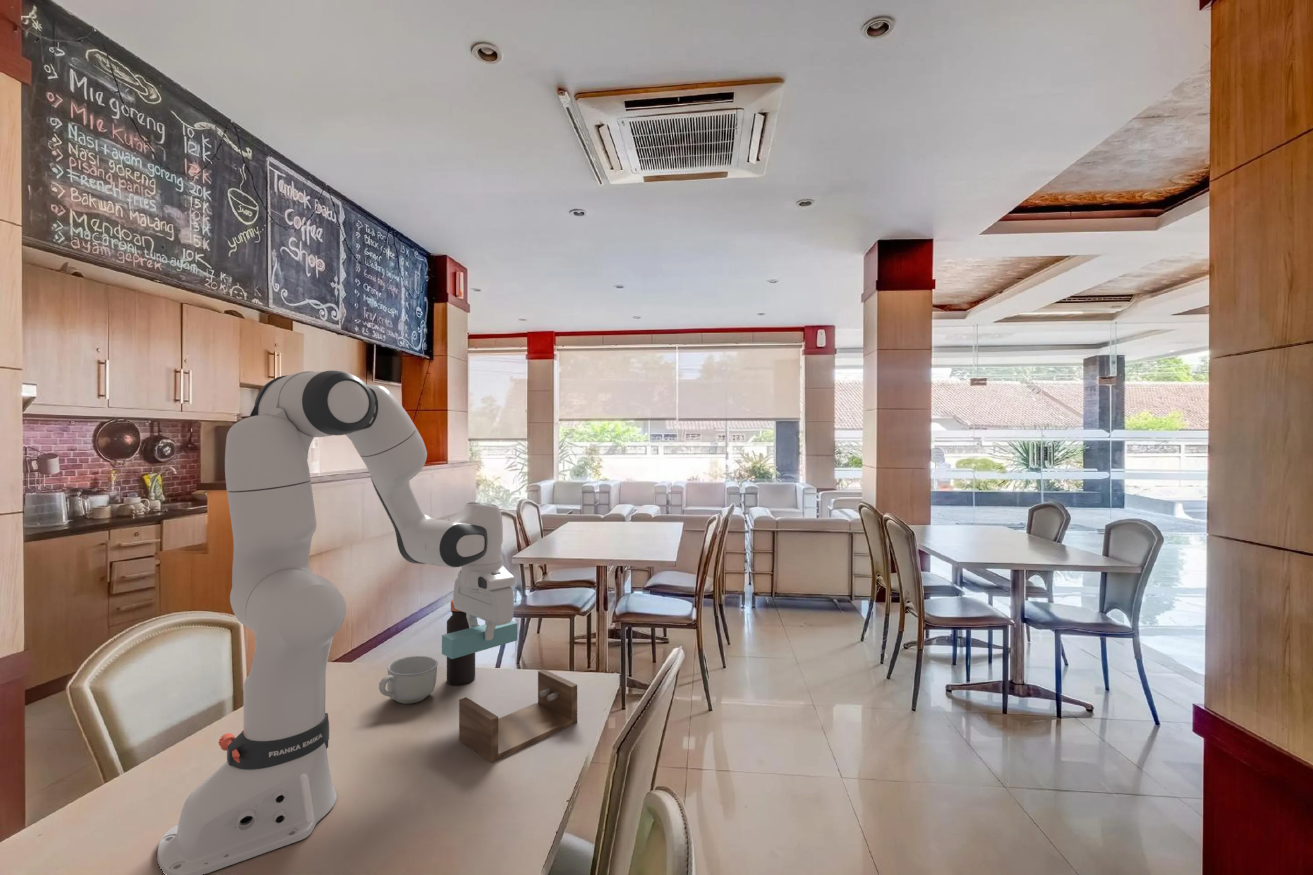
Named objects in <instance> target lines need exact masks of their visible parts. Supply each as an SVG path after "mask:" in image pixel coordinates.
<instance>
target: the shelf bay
mask: <svg viewBox="0 0 1313 875" xmlns="http://www.w3.org/2000/svg"><path fill="white" fill-rule="evenodd" d="M458 709H459V710H458V711H459V712H458V733H459V734H458V740H459V741H460V742H462V743H463V744H464V745H466V746H467V747H469V748H470V749H471V750H473V751H474V752H475V753H477V754H478V755H479V756H480V757H482V758H483V759H485V760H487V761H488V762H489V763H490V764H493V763H494V762H496V761H498V760H501V759H503V758H506V757H507V756H509V755H511V754H514V753H516V752H518V751H520V750H523V749H524V748H526V747H528V746H531V745H533V744H534V743H536V742H539V741H541V740H543V739H545V738H547V737H550V736H552V735H554V734H556V733H558V732H560V731H562V730H564V729H567V728H568V727H571V726H573V725H575V724H578V684H576V683H575V682H572V681H570V680H568V679H566V678H563V677H561V676H559V675H557V674H555V673H553V672H551V671H549V670H546V669H544V668H543V669H541V670H538V671H537V702H536V703H532V704H530V705H528V706H526V707H523V708H520V709H518V710H516V711H513V712H511V713H508V714H506V715H504V716H501V717H499V716H497V715H496V714H494V713H493V712H491V711H490V710H488V709H486V708H485V707H483V706H481V705H480V704H478V703H476V702H475V701H473V700H471V699H470V698H468V697H467V696H465V697H463V698H460V699H459V700H458Z"/></svg>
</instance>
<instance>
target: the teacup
mask: <svg viewBox="0 0 1313 875" xmlns="http://www.w3.org/2000/svg"><path fill="white" fill-rule="evenodd" d="M438 665H439V662H438V660H436V658H434V657H432V656H426V655H414V656H413V655H410V656H406V657H402V658H397V659H396V660H394V661H392V662H390V663H389V664H388V665H387V668H386V669H387V675H385V676H384V677H382V678H381V680H380V682H379V684H378V690H379V692H380V694H382V695H383V696H386V697H389V698H390V699H391V700H395V701H396V702H398V703H400V704H404V705H405V704H408V705H409V704H415V703H418V702H422V701H423V700H424V699H426V698H427V697H428V696H429V695H431V694H432V692H433V691H434V689H435V687H436V684H437V683H436V682H437V673H438V670H437V669H438ZM386 685H387V689H386Z"/></svg>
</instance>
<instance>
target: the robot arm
mask: <svg viewBox="0 0 1313 875" xmlns="http://www.w3.org/2000/svg"><path fill="white" fill-rule="evenodd" d="M331 436H345V437H347V438H348V439H349V440H350V441H351V443H352V445H353V446H354V448H355V450H356V452H357V453H358V455H359V456H360V458H361V460H362V461H363V463H364V464H365V466H366V469H367V470H368V472H369V474H370V480H371V482H372V485H373V489H374V490H375V493H376V495H377V496H378V498H379V500H380V502H381V504H382V506H383V509H384V510H385V512H386V514H387V517H388V518H389V520H390V522H391V524H392V527H393V529H394V532H395V537H396V542H397V548H398V551H399V554H400V555H401V556H402V558H403V559H405V561H407V562H408V563H412V564H418V565H419V564H420V565H421V564H422V565H431V566H438V567H445V568H452V569H453V568H460V567H461V569H460V570H459V572H458V573H457V578H456V579H455V580H454V586H453V594H452V595H453V596H452V597H453V598H452V600H453V605H454V608H455V609H458V610H460V611H463V612H465V613H466V617H467V621H468V624H469V628H472V627H476V626H480V624H479V623H478V619H480V620H483V621H484V624H485V625H487V626H486V629H485V631H483V639H485V640H487V641H488V640H492V639H493V637H494V630H495V627H496V625H497V626H499V625H504V624H508V623H510V622H511V621H513V619H514V611H515V610H514V609H515V608H514V607H515V594H514V591H513V588H512V587H514V586H515V585H516V584H515V582H516V580H515V576H514V575H513V574H512V573H511V572H510V571H509V570H508V569H507V568H506V567H505V566H504V565H503V555H502V551H501V550H502V544H503V542H504V541H503V540H504V529H503V527H504V526H503V515H502V512H501V509H500V507H498V505H496V504H493V503H488V502H487V503H486V502H485V503H484V502H476V501H473V502H472V501H471V502H467V503H465V505H464V508H463V509H462V510H461V511H460V512H458V513H457V514H455V515H454V516H452V517H450V518H448V519H437V518H434V517H432V516H431V517H430V516H429V515H427V514H426V513H424V512H423V510H422V509H421V507H420V504H419V503H418V500H417V498H416V496H415V494H414V491H413V489H412V487H411V485H410V481H411V480H412V479H413V478H415V477H416V476H417V475H418V474H420V472H421V471H422V470H423V468H424V466H425V464H426V461H427V458H428V451H427V447H426V444H425V442H424V440H423V436H421V434H420V432H419V430H418V429H417V427H416V425H415V424H414V421H413V420H412V419H411V416H410V415H409V414H408V412H407V411H406V410H405V408H404V407H403V405H402V404H401V403H400V401H398V399H397V398H396V397H395V395H394V394H393V393H392V392H391V391H390V390H389V389H388V388H386V387H385V386H383V385H379V384H366V383H365V381H363V380H362V379H360V377H357V376H355V375H354V374H352V373H348V372H346V371H341V370H331V369H330V370H324V371H312V370H311V371H301V372H296V373H292V374H289V375H288V374H287V375H281V376H278V377H276V378H274V379H271V380H270V381H268V382H267V383H265V384H264V385H263V387H261V388H260V389H259V391H258V393H257V395H256V398H255V400H254V406H253V408H252V410H251V412H250V415H249V417H246V418H243V419H241V420H238V421H237V422H235V423H234V424H233V425H232V426H231V427H230V428H229V430H228V432H227V434H226V441H225V448H224V449H225V451H224V452H225V453H224V473H225V475H224V478H225V484H226V485H225V486H226V493H227V494H226V495H227V501H228V508H229V517H230V523H231V524H230V525H231V531H232V537H233V538H232V539H233V552H232V554H233V555H232V556H233V557H232V568H231V569H232V571H231V572H232V573H231V574H232V575H231V576H232V578H231V584H232V586H231V590H230V594H229V602H230V607H231V610H232V612H233V614H234V616H235V617H236V619H237V621H239V623H240V624H241V625H243V626H245V627H246V628H248V629H249V630H251V631H252V632H253V635H254V638H255V646H254V647H255V649H254V652H253V657H252V662H251V666H250V671H249V674H248V676H247V677H246V678H245V680H244V682H243V723H242V724H243V728H242V731H241V732H240V733H239V734H238V735H237V736H236V737H235V735H234V734H233V733H231V732H227V733H225V734H222V735H221V736H220V737H221V738H219V740H218V742H217V743H218V745H219V747H220V749H221V750H222V751H226V760H227V761H226V762H224V763H223V764H222V765H220V767H219V768H218V769H217V770H216V771H214V773H212V774H211V775H210V776H208V778H207V779H205V780H204V781H203V782H202V783H201V784H200V785H199V786H197V787H196V788H195V789H194V790H193V791H192V792H191V793H190V794H189V795H188V796H187V797H186V799H185V801H184V804H183V806H182V809H181V812H180V815H179V819H178V824H175V825H173V826H172V827H171V828H169V829H168V830H167V831H165V833H164V834H163V836H162V837H161V839H160V841H159V843H158V847H157V855H156V856H157V857H156V860H157V864H159V865H158V867H159V866H160V868H159V870H160V869H162V871H163V872H164V873H165V874H167V875H203V874H204V875H206V874H209V873H212V872H215V871H218V870H221V869H223V868H226V867H228V866H231V865H235V864H237V863H240V862H243V861H246V860H248V859H251V858H254V857H257V856H261V855H263V854H266V853H269V852H271V851H274V850H277V849H279V848H283V847H284V846H285V847H286V846H288V845H290V844H294V843H297V842H299V841H303V840H304V839H306V838H308V837H309V836H310V835H311V834H312V833H313V831H314V829H315V827H316V825H317V824H318V823H319V821H321V820H322V819H323V818H324V817H325V816H326V815H327V814H328V813H329V812H330V811H331V810H332V808H333V807H334V806H335V804H336V802H337V797H338V796H337V795H338V794H337V792H336V789H335V786H334V783H333V780H332V775H331V770H330V765H329V759H328V757H329V756H328V748H329V740H330V720H329V713H327V712H326V696H327V695H326V694H327V693H326V692H327V690H326V689H327V688H326V686H327V685H326V684H327V666H328V661H329V657H330V652H331V647H332V644H333V641H334V637H335V635H336V634H337V633H338V632H339V630H340V628H341V627H342V625H343V624H344V621H345V618H346V614H347V604H346V601H345V597H344V595H343V594H342V592H340V590H339V589H338V588H337V586H335V585H334V584H333V583H332V582H331V580H329V579H327V578H326V577H324V576H321V575H318V574H315V573H313V572H312V569H311V565H310V554H311V546H312V545H311V544H312V539H313V536H314V534H315V532H316V530H317V529H316V528H317V518H316V517H317V516H316V509H315V502H314V501H315V500H314V493H313V486H312V479H311V472H310V471H311V470H310V467H309V462H308V458H309V450H310V447H311V443H312V442H313V440H314V439H315V438H325V437H331ZM162 871H161V872H162Z"/></svg>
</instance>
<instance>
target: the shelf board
mask: <svg viewBox="0 0 1313 875" xmlns="http://www.w3.org/2000/svg"><path fill="white" fill-rule="evenodd" d="M479 625H480V624H479ZM486 626H487V625H485V623H484V624H481V625H480V626H476V627H472V628H468V629H464V630H460V631H456V632H452V633H448V634H447V633H445V634H442V635H441V655H443V656H445V657H446V658H447V657H449V658H451V659H454V658H458V657H461V656H465V655H468V654H472V653H475V654H476V653H478V652H481V651H485V650H489V649H492V648H496V647H499V646H502V645H506V644H509V643H513V642H517V641H518V626H519V625H518V622H516V621H513V620H511V622H510V623H508V624H504V625H499V626H497V625H496V627H495V630H494V637H493V639H492V640H488V641H487V640H485V639H483V631H485V629H486Z"/></svg>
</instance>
